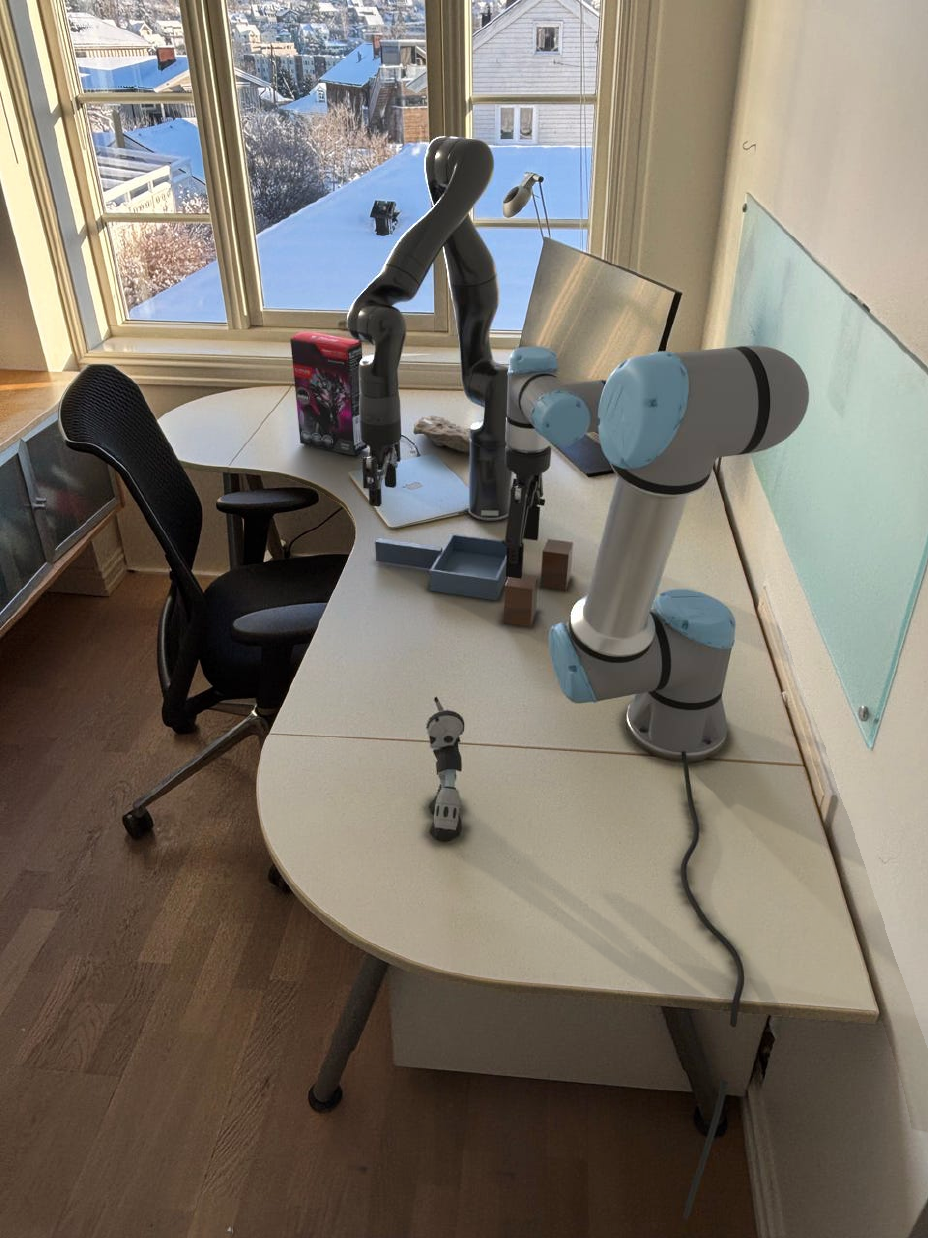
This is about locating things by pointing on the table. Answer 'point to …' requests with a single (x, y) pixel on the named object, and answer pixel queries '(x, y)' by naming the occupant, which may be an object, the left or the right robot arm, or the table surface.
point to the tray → (453, 564)
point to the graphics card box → (327, 391)
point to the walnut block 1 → (520, 600)
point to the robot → (446, 772)
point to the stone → (444, 432)
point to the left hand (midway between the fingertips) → (383, 495)
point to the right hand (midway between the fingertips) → (522, 557)
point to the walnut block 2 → (556, 564)
